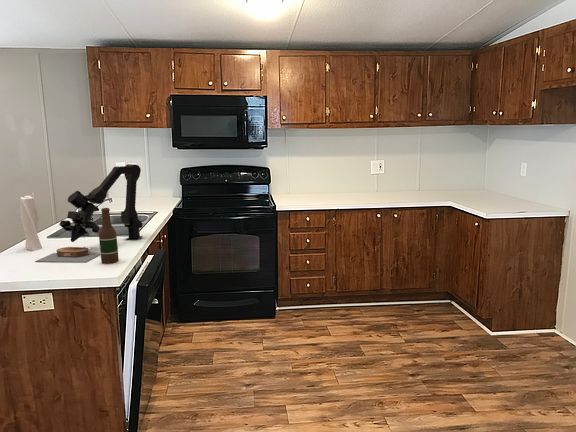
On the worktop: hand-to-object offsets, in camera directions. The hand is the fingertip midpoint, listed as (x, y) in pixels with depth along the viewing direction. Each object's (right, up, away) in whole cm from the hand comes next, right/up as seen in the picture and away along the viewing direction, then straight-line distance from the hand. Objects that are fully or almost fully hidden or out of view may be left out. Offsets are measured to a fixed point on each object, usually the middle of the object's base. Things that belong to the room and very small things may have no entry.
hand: (71, 241), depth 220 cm
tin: (+1, -4, +5) cm, 7 cm away
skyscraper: (-26, -5, +15) cm, 30 cm away
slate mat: (0, -7, -3) cm, 8 cm away
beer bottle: (+22, -9, -11) cm, 26 cm away
